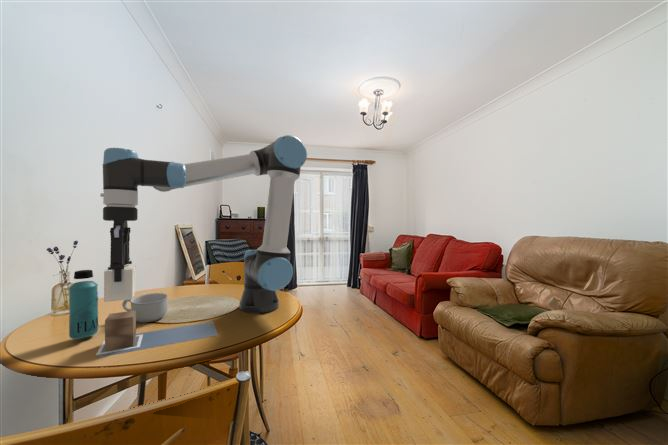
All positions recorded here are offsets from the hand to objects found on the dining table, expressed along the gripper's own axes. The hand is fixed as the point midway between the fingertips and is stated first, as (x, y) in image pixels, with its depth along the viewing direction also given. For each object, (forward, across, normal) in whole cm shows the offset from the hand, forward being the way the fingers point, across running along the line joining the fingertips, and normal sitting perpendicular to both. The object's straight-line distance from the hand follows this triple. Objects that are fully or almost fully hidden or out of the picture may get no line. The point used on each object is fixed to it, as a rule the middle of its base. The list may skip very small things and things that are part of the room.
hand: (120, 290), depth 77 cm
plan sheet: (+15, 0, +10) cm, 18 cm away
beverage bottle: (+15, -10, -10) cm, 21 cm away
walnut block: (+15, 0, 0) cm, 15 cm away
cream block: (+2, 0, 0) cm, 2 cm away
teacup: (+15, -20, +4) cm, 26 cm away
